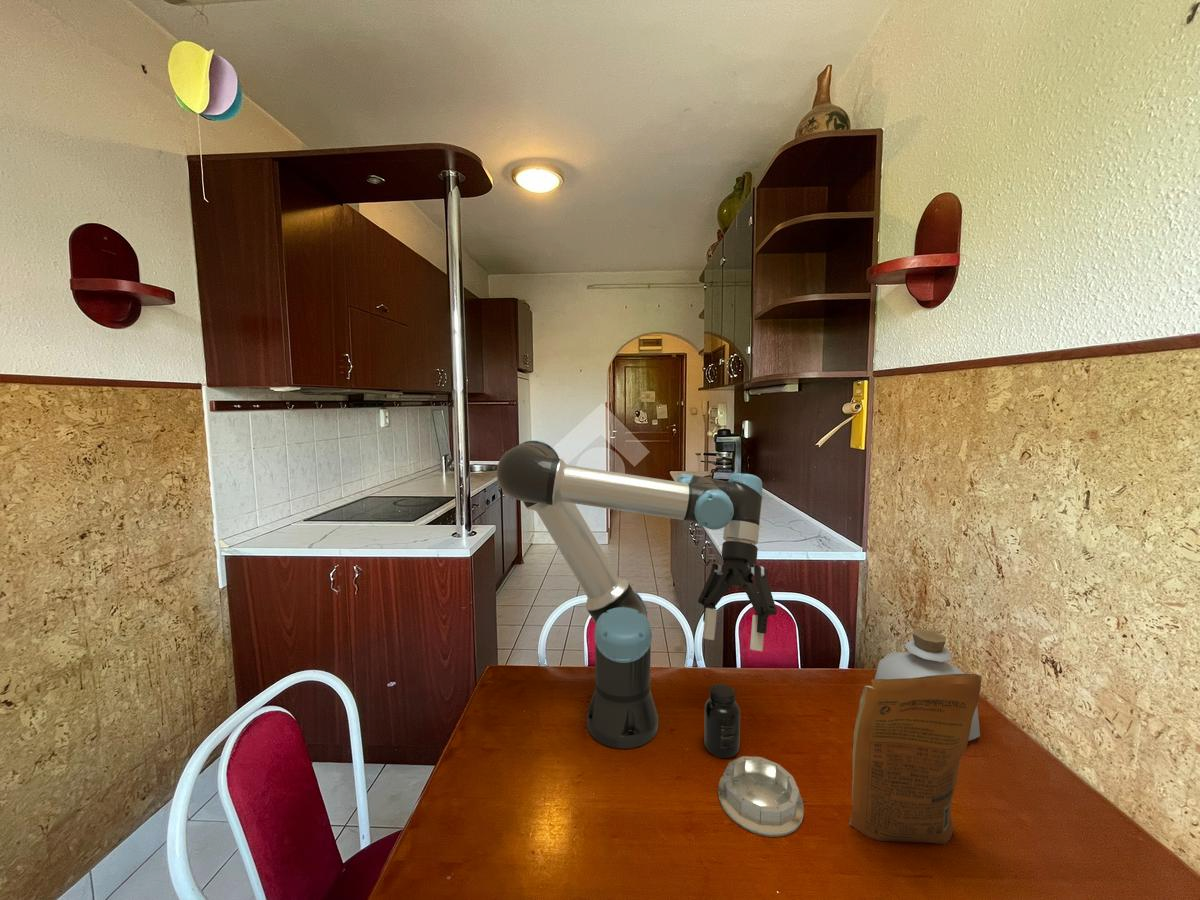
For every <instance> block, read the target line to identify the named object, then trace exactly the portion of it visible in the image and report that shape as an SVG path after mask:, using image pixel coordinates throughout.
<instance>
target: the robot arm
mask: <svg viewBox="0 0 1200 900" xmlns="http://www.w3.org/2000/svg"><path fill="white" fill-rule="evenodd" d="M496 478H497V479H496V480H497V482H498V484H499V486H500V488H501V490H502V492H504V493H505V494H506V495H507V496H509V497H510V498H512V499H515V500H518V501H522V503H523V505H524V506H525V507H526V509H527V510H532V511H534V512H536V513H537V515H538V517H539V518H540V520H541V521H542V523H543V525H544V527H545V528H546V530H547V533H549V535H550V537H551V539H552V540H553V542H554V544H555V545H556V547H557V548H558V550H559V552H560V554H561V555H562V557H563V559H564V560H565V562H566V564H567V565H568V567H569V569H570V571H571V572H572V574H573V575H574V577H575V579H576V581H577V582H578V584H579V586H580V588H581V589H582V591H583V592H584V594H585V596H586V598H587V599H586V602H585V603H586V604H585V608H586V610H587V612H588V613H589V616H590V617H591V619H592V620H593V622H594V624H595V627H594V633H593V635H594V637H593V640H594V643H595V644H594V646H595V647H594V649H595V650H594V658H595V659H594V661H595V662H594V665H595V666H594V667H595V668H594V670H595V671H594V673H595V675H594V676H595V677H594V683H595V684H594V691H593V694H592V697H591V700H590V703H589V706H588V708H587V713H586V727H587V731H588V733H589V734H590V735H591V737H592V738H593V739H595V741H597V742H598V743H600V744H602V745H603V746H607V747H610V748H615V749H623V750H625V749H627V750H629V749H634V748H638V747H640V746H641V747H642V746H644V745H645V744H647V743H649V742H650V741H651V740H653V739H654V738H655V736H656V735H657V732H658V728H659V714H658V711H657V709H656V705H655V701H654V698H653V695H652V691H651V663H652V661H651V657H652V655H651V654H652V653H651V652H652V651H651V650H652V649H651V648H652V647H651V645H652V638H653V632H652V628H651V627H652V626H651V622H650V620H649V619H648V611H647V606H646V604H645V601H644V600H643V598H642V597H641V596H640V594H638V592H637V591H635V590H634V589H633V588H632V585H631V584H630V583H629V580H627V579H624V578H620V577H618V575H617V573H616V571H615V569H614V568H613V565H612V564H611V563H610V561H609V559H608V557H607V556H606V554H605V553H604V551H603V549H602V547H601V545H600V544H599V542H598V540H597V539H596V537H595V535H594V533H593V531H592V530H591V529H590V527H589V525H588V524H587V521H586V520H585V519H584V517H583V515H582V513H581V511H580V509H579V508H578V507H577V505H583V506H588V507H595V508H601V509H602V508H603V509H609V510H614V511H621V512H628V513H633V514H634V513H635V514H642V515H648V516H654V517H661V518H668V519H674V520H680V521H686V522H692V523H696V524H697V523H698V524H699V525H700V526H703V527H704V528H706V529H709V530H715V531H716V530H721V529H723V534H722V539H723V540H724V541H723V542H722V546H721V559H722V560H723V562H722V563H723V564H718V563H712V565H711V569H710V573H709V576H708V578H707V580H706V582H705V584H704V586H703V589H702V590H701V593H700V595H699V596H698V600H697V602H698V604H699V605H702V606H703V608H704V609H703V619H702V622H703V632H702V639H705V640H710V641H715V635H716V625H717V616H718V615H717V614H718V609H717V607H716V606H717V605H718V604H719V603H720V601H721V599H722V598H723V597H724V596H725V594H726V593H727V591H728V590H729V589H731V588H732V587H736V588H737V587H740V588H742V589H744V592H745V594H746V596H747V598H748V600H749V602H750V604H751V606H752V607H753V610H754V611H755V612H754V614H752V619H751V620H752V621H751V632H750V633H751V634H750V645H749V646H750V647H749V650H752V651H758V652H763V649H764V648H763V647H764V637H765V636H764V635H765V634H767V631H768V629H767V628H768V627H767V626H768V618H769V617H771V616H772V615H773V616H775V615H776V614H777V612H778V610H777V607H776V603H775V601H774V598H773V593H772V590H771V587H770V584H769V582H768V577H767V575H768V574H767V573H768V569H767V568H766V567H765V566H761V565H757V564H756V563H757V561H758V550H759V548H758V547H757V546H756V545H757V544H758V543H759V535H760V521H761V510H762V502H763V501H762V500H763V481H762V479H761V478H760V477H758V476H757V475H755V474H750V473H740V472H739V473H738V472H737V473H733V474H731V475H730V476H729V479H728V480H720V479H715V478H711V477H705V476H702V475H701V476H700V475H696V474H687V473H682V474H679V476H678V477H677V479H676V480H675V481H673V480H667V479H661V478H653V477H649V476H642V475H636V474H635V475H634V474H628V473H624V472H616V471H609V470H602V469H597V468H589V467H583V466H577V465H570V464H567V463H566V461H564V460H563V459H562V458H560V456H559V454H558V452H557V451H556V450H555V449H554V448H553V447H552V446H551V445H550V444H549V443H546V442H545V441H544V442H543V441H540V440H526V441H524V442H522V443H519V444H518V445H517V446H515V447H512V448H510V449H508V450H507V451H506V452H505V453H504V454H503V455H502V456H501V457H500V460H499V462H498V463H497V467H496ZM755 564H756V565H755Z"/></svg>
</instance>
